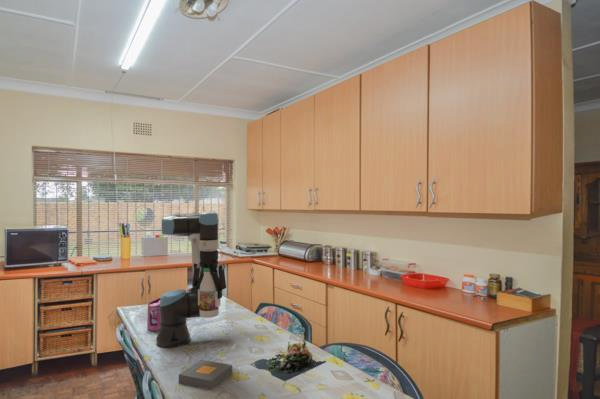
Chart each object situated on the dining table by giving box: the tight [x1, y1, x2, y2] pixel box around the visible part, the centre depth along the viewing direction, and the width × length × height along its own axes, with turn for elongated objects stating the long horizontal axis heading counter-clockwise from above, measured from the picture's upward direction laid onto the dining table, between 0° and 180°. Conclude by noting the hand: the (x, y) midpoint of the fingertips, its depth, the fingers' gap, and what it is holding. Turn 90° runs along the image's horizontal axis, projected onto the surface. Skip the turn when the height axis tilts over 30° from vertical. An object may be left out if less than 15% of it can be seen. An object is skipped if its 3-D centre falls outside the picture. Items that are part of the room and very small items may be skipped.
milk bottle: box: [199, 267, 220, 319], centre depth 165 cm, size 8×8×20 cm
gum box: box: [146, 297, 161, 332], centre depth 213 cm, size 24×8×14 cm, turn 168°
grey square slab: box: [178, 359, 233, 390], centre depth 149 cm, size 14×14×3 cm
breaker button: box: [195, 365, 217, 375], centre depth 149 cm, size 6×6×2 cm
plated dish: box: [249, 336, 328, 382], centre depth 164 cm, size 35×28×7 cm
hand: (209, 305), depth 165 cm, fingers closed on milk bottle, 8 cm apart
